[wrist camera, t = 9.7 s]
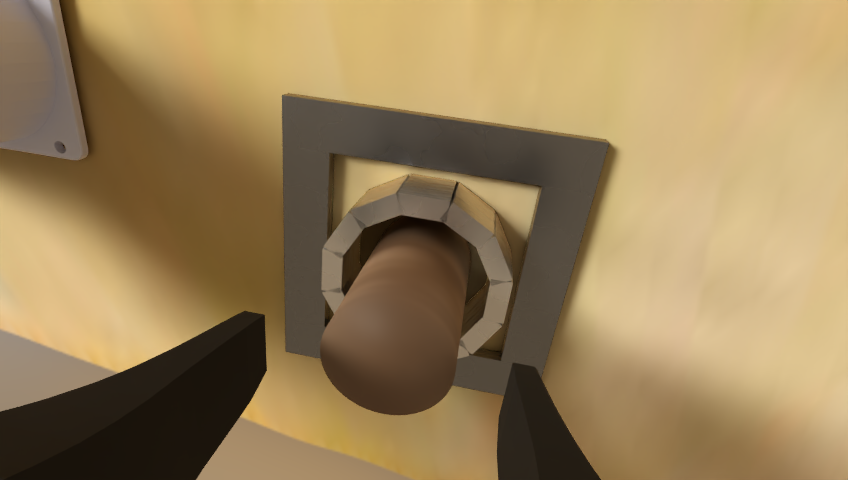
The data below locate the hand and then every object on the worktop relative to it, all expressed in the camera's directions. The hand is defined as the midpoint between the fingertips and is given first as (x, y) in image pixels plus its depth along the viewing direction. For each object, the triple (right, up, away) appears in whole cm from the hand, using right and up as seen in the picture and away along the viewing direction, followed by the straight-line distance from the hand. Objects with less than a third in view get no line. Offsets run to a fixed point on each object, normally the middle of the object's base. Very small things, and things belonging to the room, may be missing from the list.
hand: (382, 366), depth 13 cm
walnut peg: (+1, +3, +6) cm, 7 cm away
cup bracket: (+1, +3, +6) cm, 7 cm away
